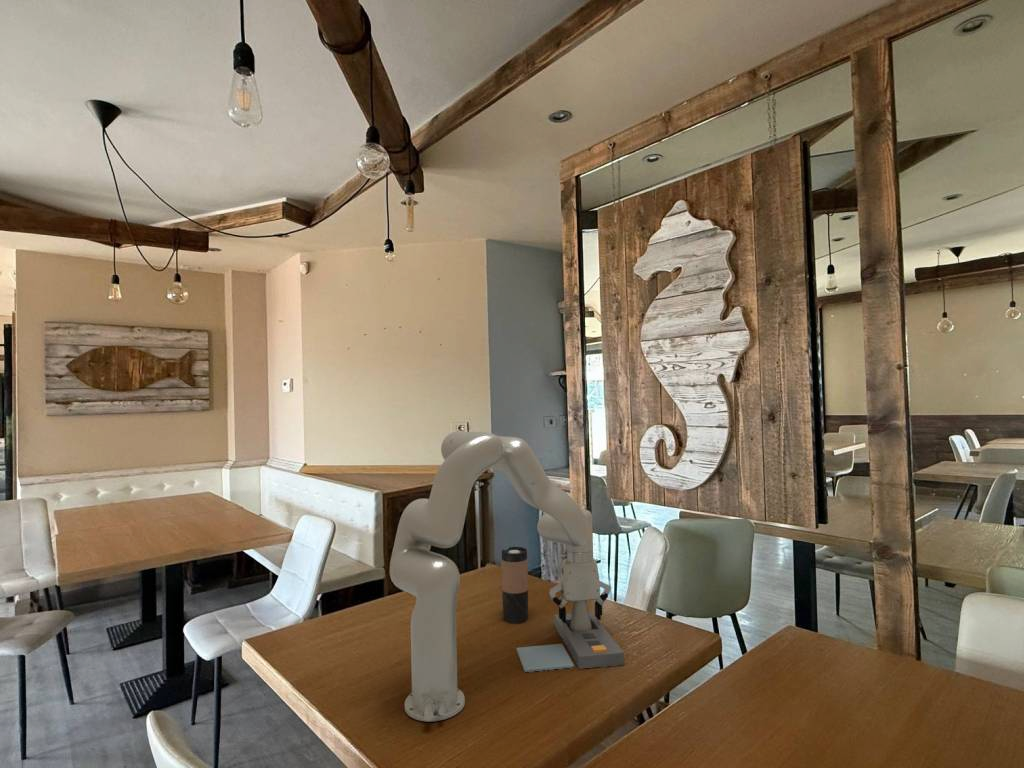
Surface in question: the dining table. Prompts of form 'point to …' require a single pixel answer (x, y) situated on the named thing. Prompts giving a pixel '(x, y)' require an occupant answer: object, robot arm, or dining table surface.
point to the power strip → (590, 644)
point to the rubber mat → (544, 657)
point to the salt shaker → (580, 617)
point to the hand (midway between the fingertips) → (580, 619)
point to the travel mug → (515, 585)
